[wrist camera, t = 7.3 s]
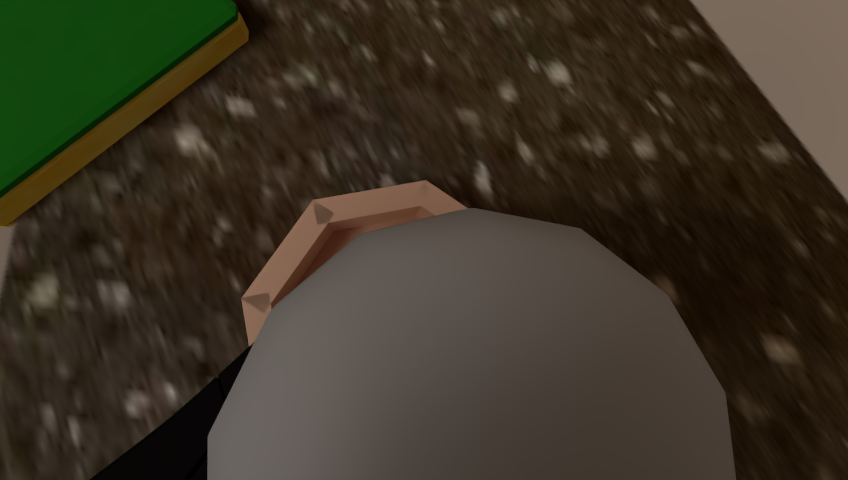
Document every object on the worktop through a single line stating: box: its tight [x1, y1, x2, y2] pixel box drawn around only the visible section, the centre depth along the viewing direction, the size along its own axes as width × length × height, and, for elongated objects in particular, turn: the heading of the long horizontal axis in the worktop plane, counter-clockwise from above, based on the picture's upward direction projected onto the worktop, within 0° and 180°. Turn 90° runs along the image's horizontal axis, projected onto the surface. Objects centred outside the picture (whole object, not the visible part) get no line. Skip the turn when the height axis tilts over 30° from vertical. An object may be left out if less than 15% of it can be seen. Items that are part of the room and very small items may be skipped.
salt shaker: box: [207, 208, 736, 480], centre depth 9 cm, size 6×6×13 cm
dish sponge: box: [0, 0, 249, 227], centre depth 18 cm, size 7×14×2 cm, turn 134°
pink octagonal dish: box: [241, 180, 468, 346], centre depth 18 cm, size 11×11×3 cm
